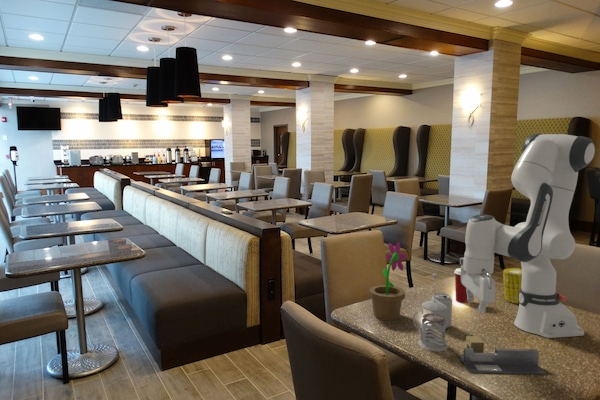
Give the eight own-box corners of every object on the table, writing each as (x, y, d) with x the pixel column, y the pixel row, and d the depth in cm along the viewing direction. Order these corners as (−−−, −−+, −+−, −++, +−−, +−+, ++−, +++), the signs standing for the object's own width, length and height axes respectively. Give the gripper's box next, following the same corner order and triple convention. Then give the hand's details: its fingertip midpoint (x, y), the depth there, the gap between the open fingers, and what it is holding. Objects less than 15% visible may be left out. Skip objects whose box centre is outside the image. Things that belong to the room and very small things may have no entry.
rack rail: (528, 357, 132) (529, 342, 132) (545, 374, 122) (546, 358, 122) (458, 356, 133) (459, 341, 133) (469, 372, 123) (470, 356, 123)
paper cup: (474, 304, 179) (476, 272, 177) (456, 304, 179) (458, 272, 177) (467, 297, 187) (469, 267, 185) (450, 297, 187) (451, 267, 185)
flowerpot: (412, 318, 164) (414, 244, 160) (382, 325, 158) (384, 248, 154) (389, 306, 176) (391, 237, 173) (361, 312, 170) (362, 240, 167)
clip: (477, 349, 138) (478, 336, 138) (483, 355, 134) (483, 342, 133) (465, 348, 138) (466, 336, 138) (470, 355, 134) (471, 342, 133)
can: (452, 330, 153) (453, 299, 151) (431, 328, 154) (432, 297, 153) (449, 322, 160) (450, 292, 159) (429, 320, 161) (430, 291, 160)
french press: (450, 352, 136) (453, 278, 133) (414, 349, 138) (416, 276, 135) (445, 339, 145) (448, 270, 143) (411, 336, 147) (413, 268, 145)
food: (528, 309, 177) (502, 306, 181) (528, 295, 187) (503, 292, 191) (529, 277, 172) (502, 275, 177) (528, 264, 182) (503, 263, 187)
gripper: (502, 275, 122) (499, 320, 124) (476, 257, 142) (474, 296, 144) (480, 274, 122) (477, 319, 124) (458, 257, 143) (455, 296, 144)
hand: (475, 307), depth 134 cm, fingers open, 8 cm apart
